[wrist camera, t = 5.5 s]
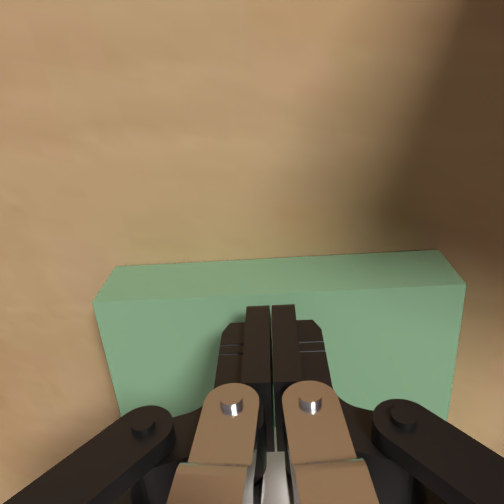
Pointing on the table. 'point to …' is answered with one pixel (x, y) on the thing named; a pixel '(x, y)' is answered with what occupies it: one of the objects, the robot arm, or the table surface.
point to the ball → (275, 477)
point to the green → (307, 308)
